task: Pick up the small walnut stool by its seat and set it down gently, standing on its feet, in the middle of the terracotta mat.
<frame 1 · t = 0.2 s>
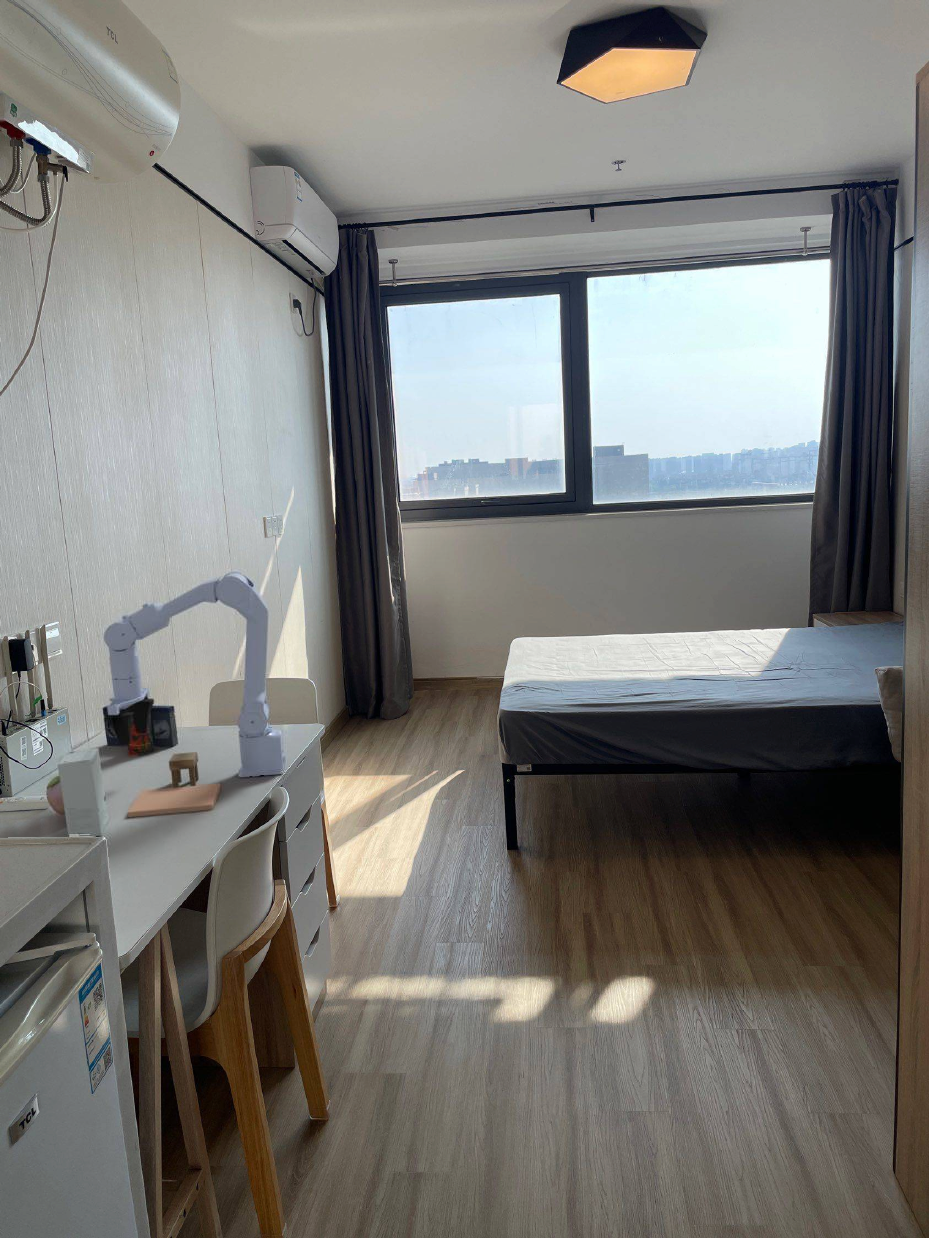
hand: (133, 738, 187), 10 cm above the table, tool pointing down, fingers open, 7 cm apart
stool: (186, 783, 187), on the table
vhs cassette tape: (142, 746, 216), on the table
mat: (176, 802, 176), on the table
decorative fruit: (73, 817, 171), on the table
deodorant: (141, 752, 210), on the table
skincare box: (88, 831, 164), on the table
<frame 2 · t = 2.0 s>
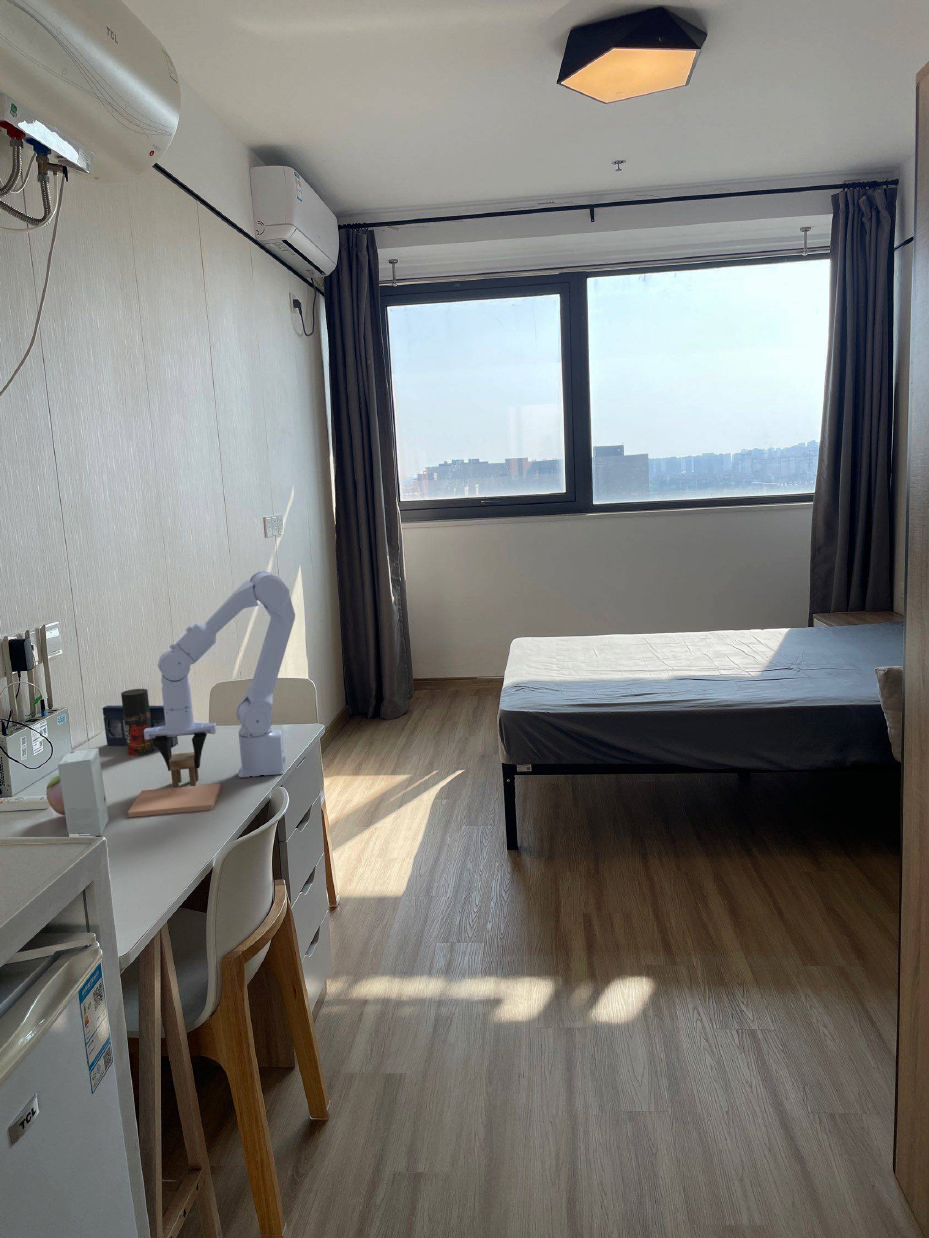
hand: (184, 768, 186), 3 cm above the table, tool pointing down, fingers closed on stool, 5 cm apart
stool: (186, 783, 187), on the table, touching gripper
everything else where it was.
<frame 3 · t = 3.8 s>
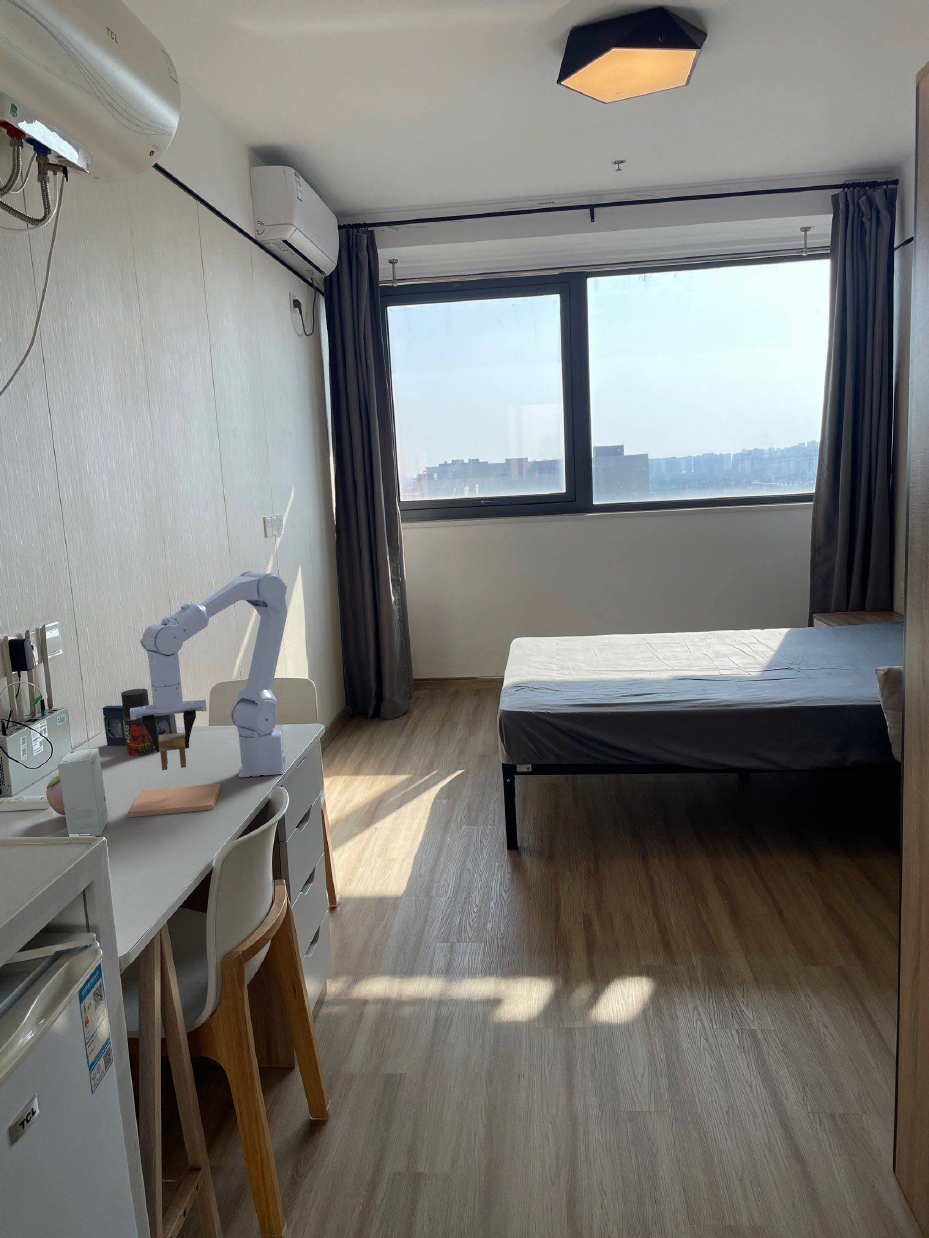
hand: (172, 748, 177), 10 cm above the table, tool pointing down, fingers closed on stool, 5 cm apart
stool: (174, 765, 177), point 7 cm above the table, touching gripper
everything else where it was.
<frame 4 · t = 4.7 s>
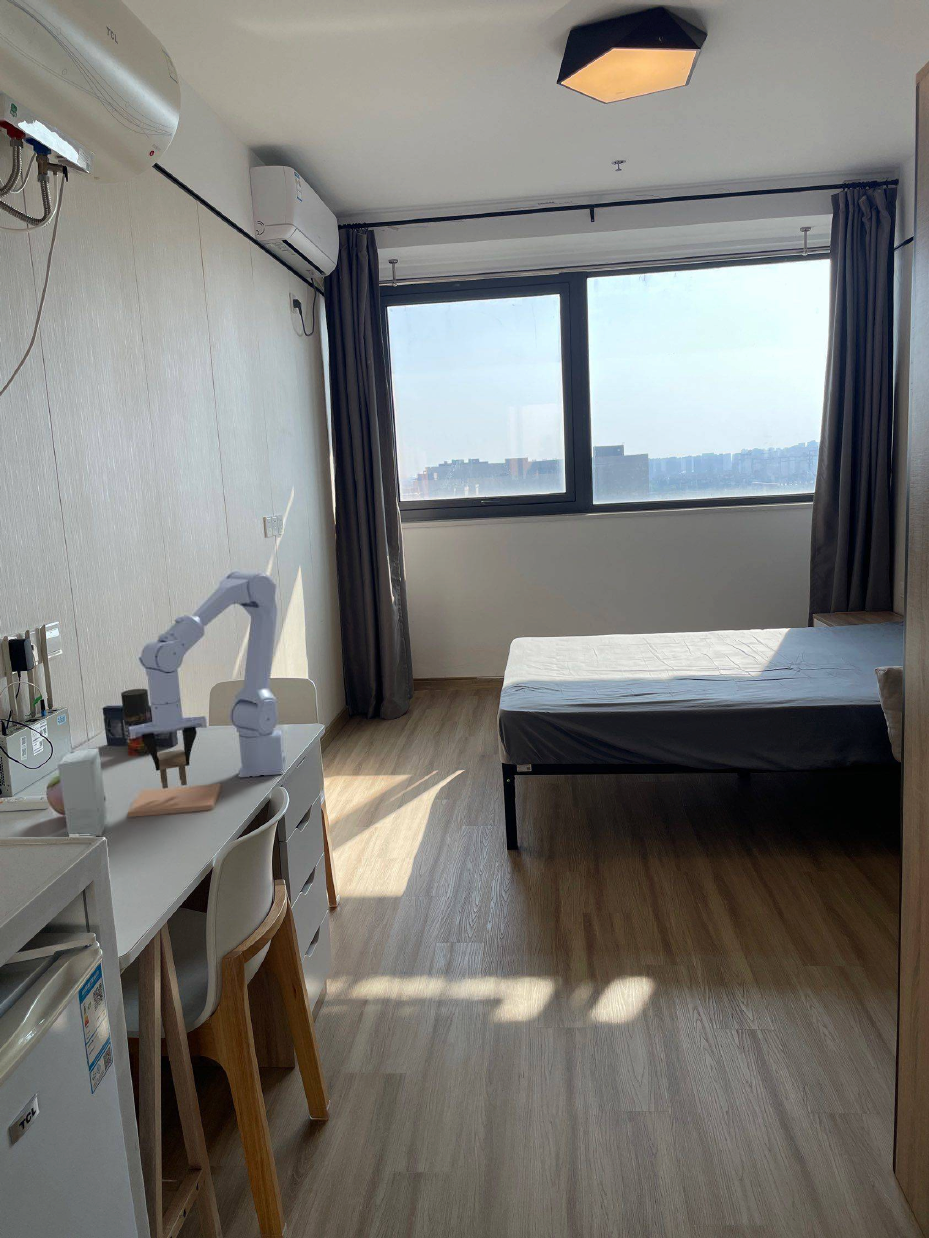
hand: (172, 766, 175), 7 cm above the table, tool pointing down, fingers closed on stool, 5 cm apart
stool: (173, 783, 176), point 4 cm above the table, touching gripper
everything else where it was.
when the fingers open (6 cm above the table, at t = 5.6 s): stool drops 1 cm, resting on mat.
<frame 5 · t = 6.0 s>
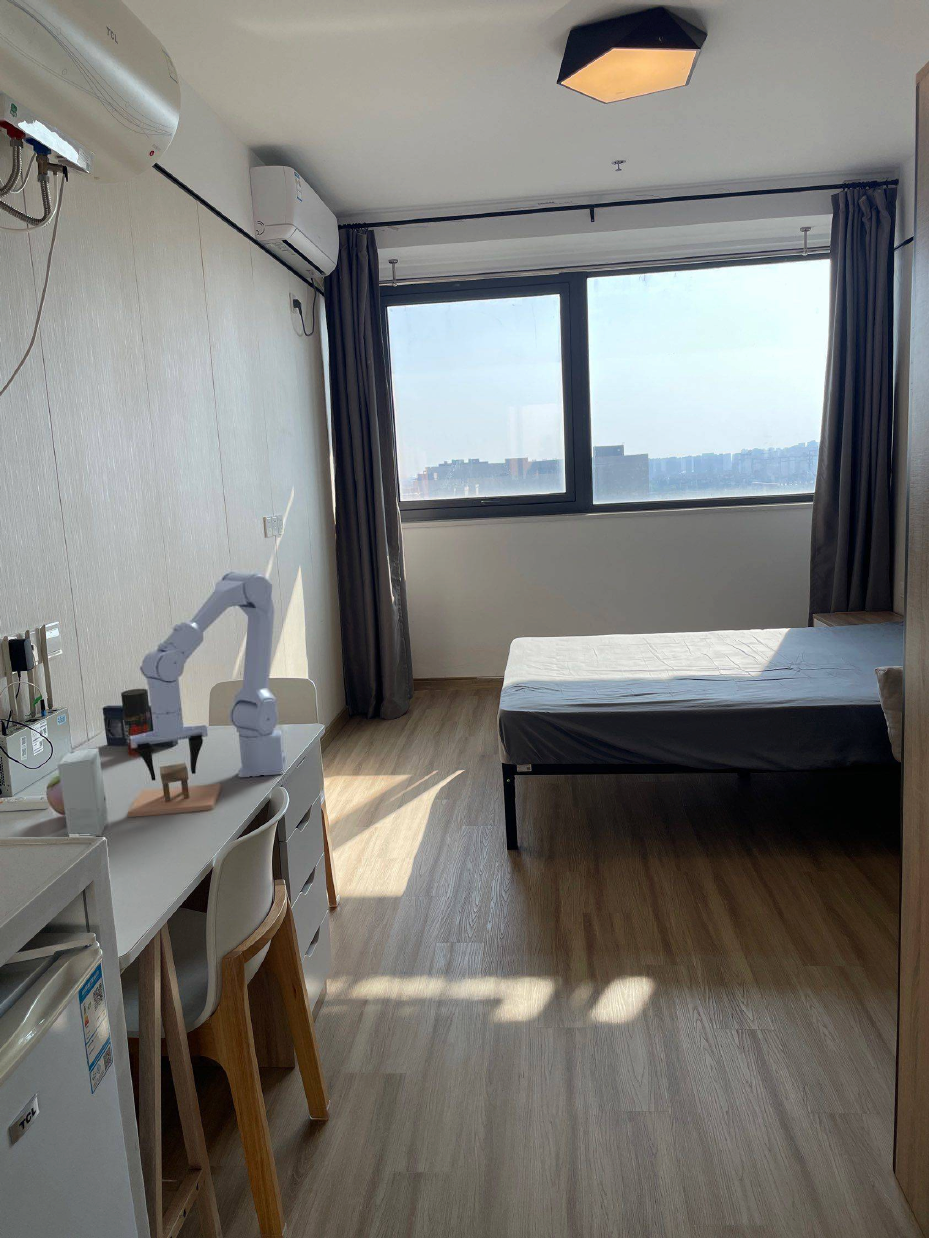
hand: (173, 775, 175), 6 cm above the table, tool pointing down, fingers open, 7 cm apart
stool: (176, 796, 176), point 1 cm above the table, touching mat
everything else where it was.
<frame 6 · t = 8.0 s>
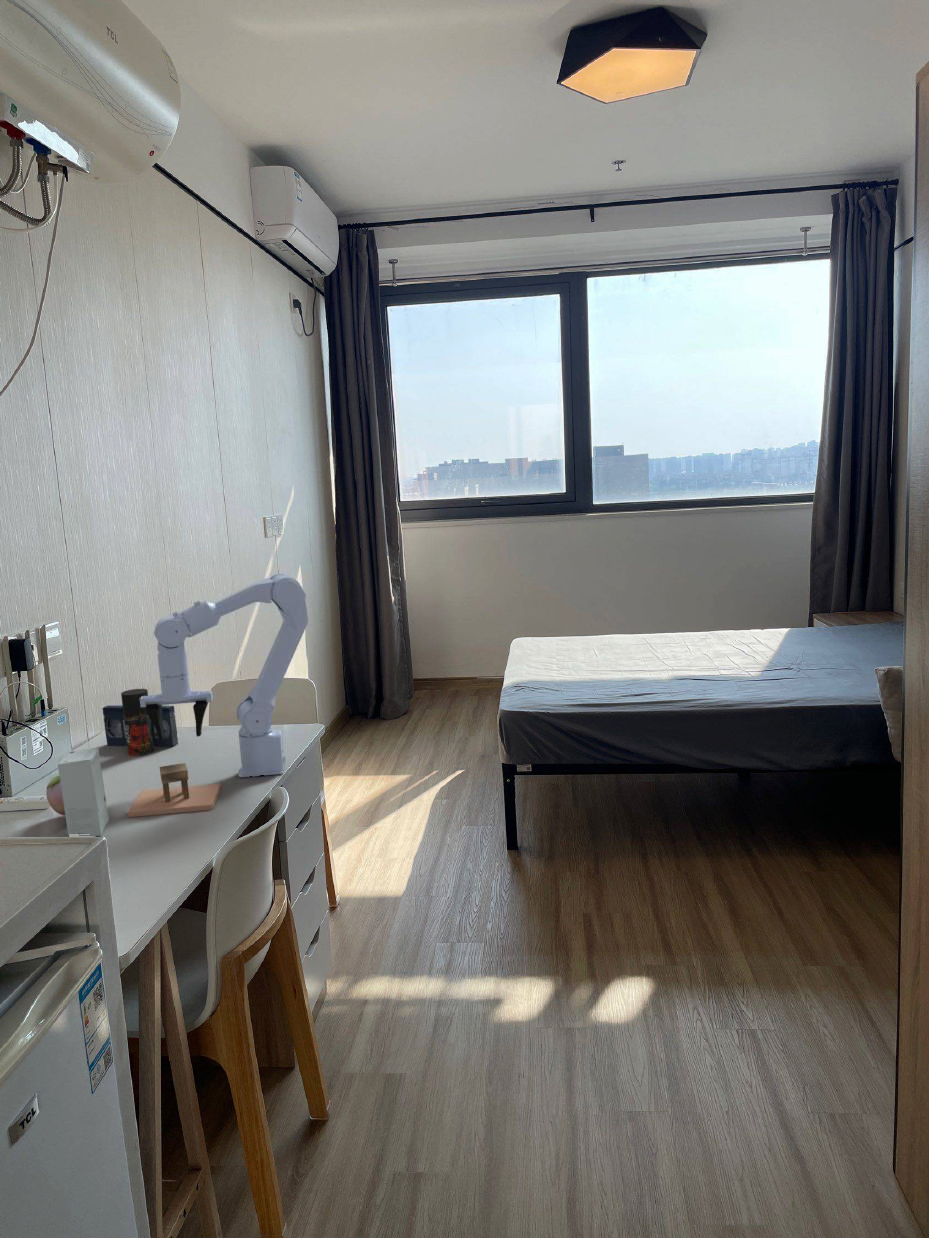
hand: (180, 736, 185), 10 cm above the table, tool pointing down, fingers open, 7 cm apart
nothing on the table moved.
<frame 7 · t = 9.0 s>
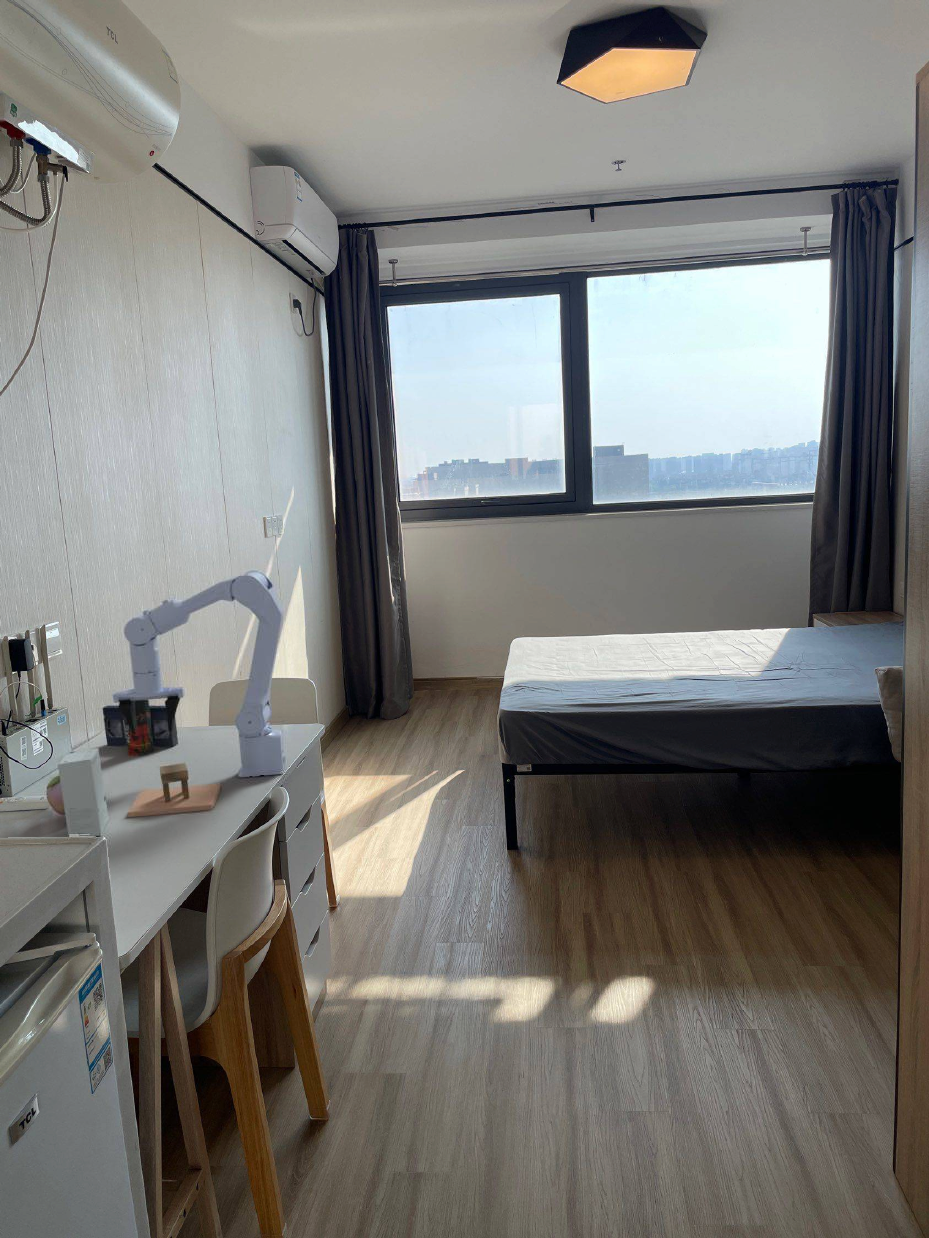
hand: (153, 731, 190), 10 cm above the table, tool pointing down, fingers open, 7 cm apart
nothing on the table moved.
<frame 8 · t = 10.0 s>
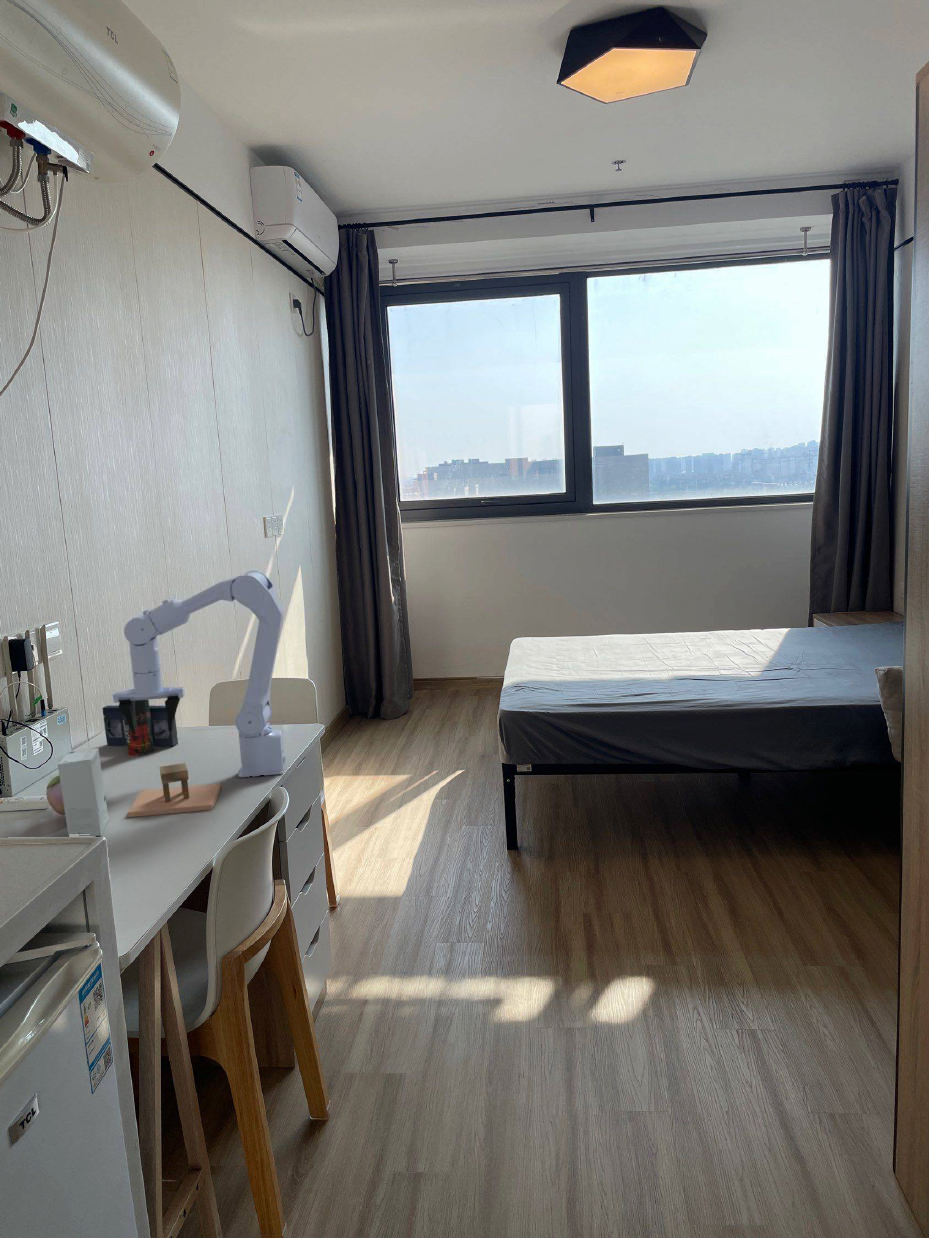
hand: (153, 731, 190), 10 cm above the table, tool pointing down, fingers open, 7 cm apart
nothing on the table moved.
at the end: stool inside the target area on the mat (0.3 cm from its centre), point 1.0 cm above the mat's base; stool tilted 0°; the gripper is holding nothing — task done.
